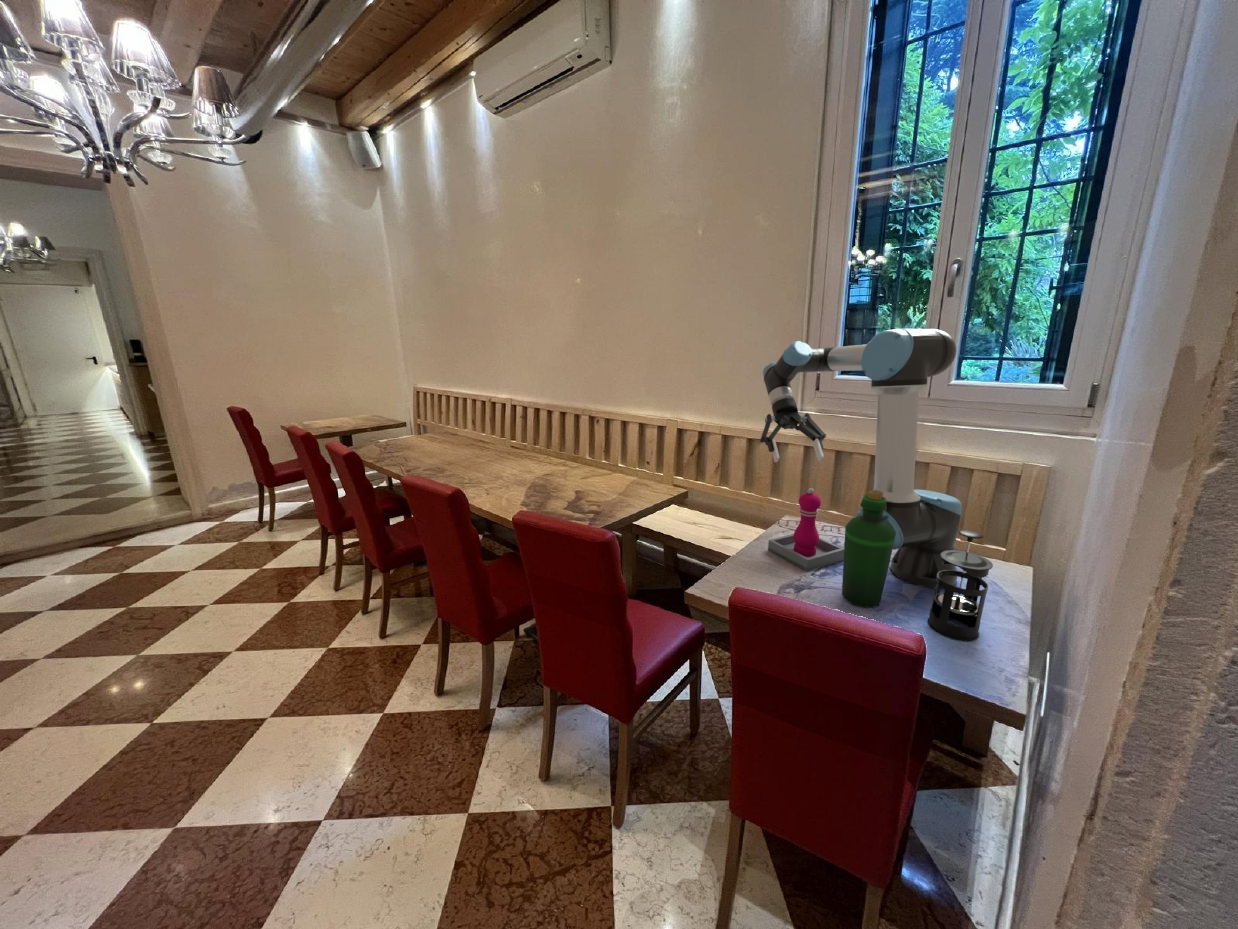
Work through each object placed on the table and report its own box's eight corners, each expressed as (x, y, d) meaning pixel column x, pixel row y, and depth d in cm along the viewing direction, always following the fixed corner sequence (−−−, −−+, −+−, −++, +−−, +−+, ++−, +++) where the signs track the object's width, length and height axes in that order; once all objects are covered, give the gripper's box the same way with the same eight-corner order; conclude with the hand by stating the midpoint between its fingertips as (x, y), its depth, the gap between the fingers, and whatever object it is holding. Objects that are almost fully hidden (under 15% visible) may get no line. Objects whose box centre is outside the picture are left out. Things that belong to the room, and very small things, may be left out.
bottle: (882, 592, 117) (898, 487, 109) (888, 615, 107) (905, 502, 100) (836, 585, 121) (848, 483, 113) (837, 606, 111) (851, 497, 104)
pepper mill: (820, 558, 134) (827, 492, 128) (793, 556, 135) (799, 491, 130) (815, 547, 140) (821, 485, 135) (790, 545, 142) (795, 483, 137)
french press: (961, 647, 96) (982, 546, 90) (916, 624, 104) (932, 529, 98) (992, 631, 101) (1014, 534, 95) (946, 610, 109) (963, 519, 103)
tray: (844, 560, 134) (845, 549, 133) (806, 571, 128) (807, 560, 127) (803, 541, 147) (804, 531, 146) (767, 550, 141) (768, 540, 140)
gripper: (815, 410, 154) (833, 464, 144) (742, 411, 153) (755, 466, 143) (825, 395, 148) (844, 451, 137) (748, 397, 147) (762, 454, 136)
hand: (799, 459), depth 140 cm, fingers open, 13 cm apart
